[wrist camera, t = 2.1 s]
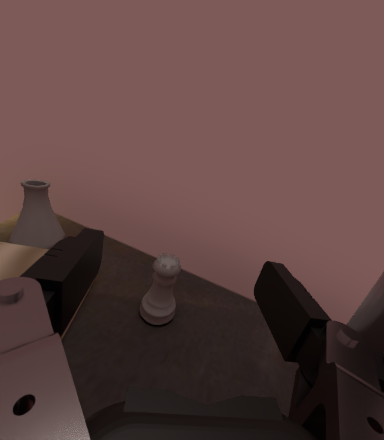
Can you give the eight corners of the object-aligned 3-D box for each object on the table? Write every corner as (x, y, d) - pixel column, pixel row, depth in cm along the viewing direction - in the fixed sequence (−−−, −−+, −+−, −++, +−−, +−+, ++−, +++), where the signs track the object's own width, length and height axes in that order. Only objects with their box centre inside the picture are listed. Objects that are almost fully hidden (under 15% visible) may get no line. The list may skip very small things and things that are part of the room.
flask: (44, 260, 30) (41, 195, 27) (-5, 248, 30) (-14, 181, 26) (74, 238, 37) (75, 183, 33) (34, 228, 37) (31, 172, 33)
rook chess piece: (131, 313, 25) (140, 258, 22) (153, 293, 29) (163, 244, 26) (160, 334, 24) (174, 278, 21) (180, 310, 28) (194, 260, 25)
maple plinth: (94, 280, 29) (96, 256, 27) (42, 374, 18) (40, 342, 16) (-3, 267, 27) (-7, 240, 26) (-126, 362, 16) (-146, 325, 15)
